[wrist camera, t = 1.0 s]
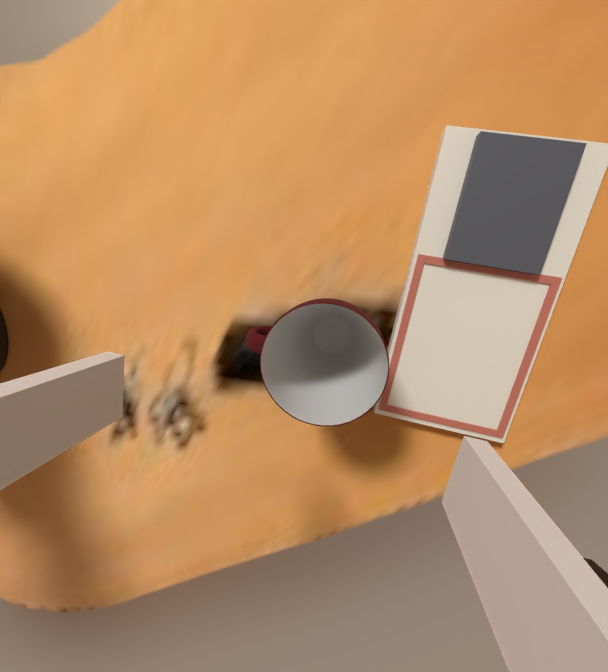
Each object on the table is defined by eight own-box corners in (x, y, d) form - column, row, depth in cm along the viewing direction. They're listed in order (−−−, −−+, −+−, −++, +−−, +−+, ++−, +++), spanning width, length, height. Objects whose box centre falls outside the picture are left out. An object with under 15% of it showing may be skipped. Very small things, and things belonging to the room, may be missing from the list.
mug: (268, 373, 29) (227, 421, 20) (264, 293, 28) (217, 301, 18) (374, 377, 28) (387, 431, 18) (377, 291, 26) (393, 300, 16)
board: (373, 407, 28) (374, 417, 26) (442, 133, 23) (450, 119, 21) (496, 436, 27) (508, 448, 25) (601, 151, 21) (625, 139, 19)
